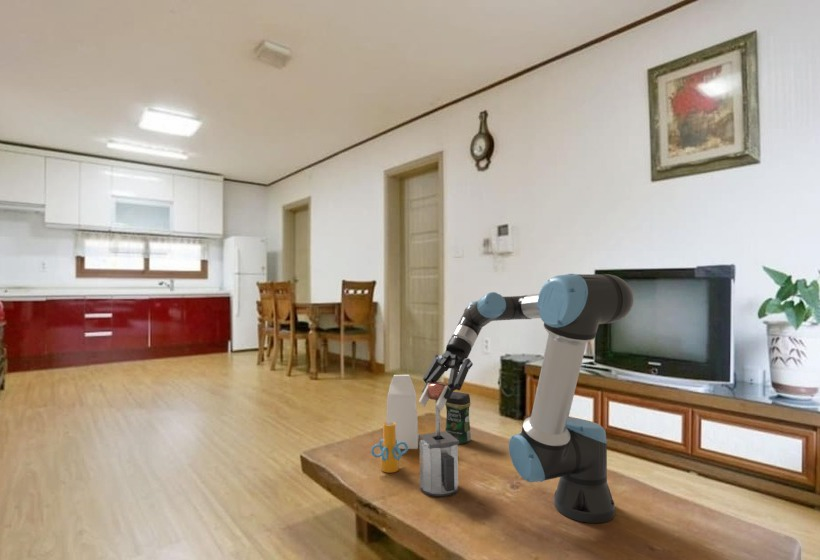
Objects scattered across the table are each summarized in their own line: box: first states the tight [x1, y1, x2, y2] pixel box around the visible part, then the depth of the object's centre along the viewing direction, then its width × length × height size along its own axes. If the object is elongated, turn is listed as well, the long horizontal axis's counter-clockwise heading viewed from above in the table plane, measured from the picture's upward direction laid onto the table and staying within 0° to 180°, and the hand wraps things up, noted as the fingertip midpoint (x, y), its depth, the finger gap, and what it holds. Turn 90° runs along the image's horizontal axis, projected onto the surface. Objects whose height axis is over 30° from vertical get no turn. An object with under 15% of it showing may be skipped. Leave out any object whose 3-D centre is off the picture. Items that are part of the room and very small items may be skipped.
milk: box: [385, 374, 419, 450], centre depth 166 cm, size 12×12×26 cm
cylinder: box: [370, 421, 409, 474], centre depth 143 cm, size 12×10×15 cm
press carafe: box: [418, 430, 460, 499], centre depth 127 cm, size 14×11×15 cm
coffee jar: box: [444, 391, 472, 445], centre depth 168 cm, size 10×8×19 cm
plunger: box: [428, 381, 448, 440], centre depth 129 cm, size 6×6×22 cm
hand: (430, 405), depth 126 cm, fingers closed on plunger, 6 cm apart
